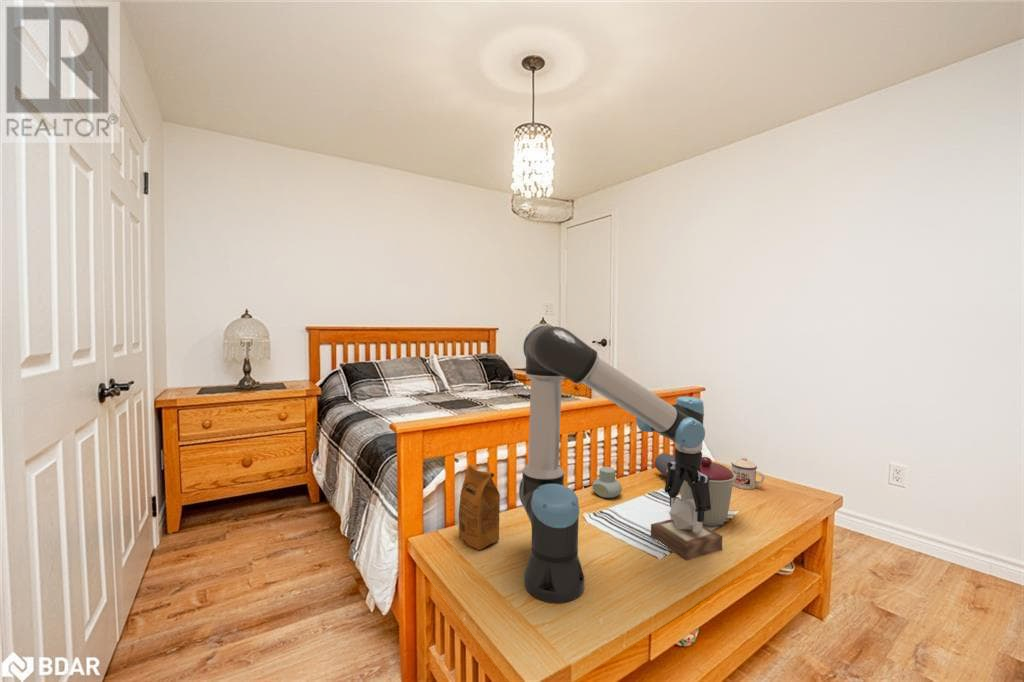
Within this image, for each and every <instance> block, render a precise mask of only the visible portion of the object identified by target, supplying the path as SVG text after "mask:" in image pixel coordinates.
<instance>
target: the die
mask: <svg viewBox="0 0 1024 682" xmlns="http://www.w3.org/2000/svg"><path fill="white" fill-rule="evenodd" d="M694 509H696V506H695V502H694V499H681V498H680V499H675V502H674V504H673V506H672V508H671V507H670V511H669V512H668V514H669V516H670V518H671V517H672V519H673V521H674V523H675V524H676V526H677V528H678V529H682V530H693V524H694V523H693V520H694Z"/></svg>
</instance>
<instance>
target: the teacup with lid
mask: <svg viewBox="0 0 1024 682" xmlns="http://www.w3.org/2000/svg"><path fill="white" fill-rule="evenodd" d="M757 468H758V466H757V464H756V463H754V462H752V461H750V460H749V459H748V458H747V456H742V457H741V458H739V459H734V460H732V461H731V471H733V472H734V473H735V474H736V478H735V479H734V480H733V486H732V487H735V488H738V489H740V490H741V489H742V490H747V491H748V490H750V491H751V490H755V488H756V484H757V485H759V484H762V483H764V481H765V474H764V473H763V472H761V471H758V470H757ZM757 474H758V475H760V476H761V480H760V481H756V480H757Z"/></svg>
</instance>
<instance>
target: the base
mask: <svg viewBox="0 0 1024 682" xmlns="http://www.w3.org/2000/svg"><path fill="white" fill-rule="evenodd" d="M651 536H652V537H653V538H655V539H656V540H658V541H660V542H661V543H662V544H664V545H665V546H667V547H668V548H669V549H668V548H667V547H666V548H667V549H668V550H670V549H671V550H672V551H671V550H670V551H671V552H673V553H675V554H676V555H677V556H679V557H680V558H682V559H684V560H685V561H689V560H693V559H696V558H700V557H702V556H705V555H709V554H712V553H714V552H715V553H716V552H718V551H721V550H723V535H721V534H719V533H717V532H716V531H714V530H712V529H710V528H708V527H706V525H702V531H700V532H696V533H695V532H693V530H682V529H678V528H677V526H676V524H675V523H674V521H673V520H672V519H666V520H663V521H659V522H655V523H651V524H650V537H651ZM652 537H651V538H652ZM653 538H652V539H653ZM655 539H654V540H655ZM656 540H655V541H656ZM658 541H657V542H658ZM661 543H660V544H661ZM662 544H661V545H662ZM664 545H663V546H664ZM665 546H664V547H665Z"/></svg>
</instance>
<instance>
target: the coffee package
mask: <svg viewBox="0 0 1024 682" xmlns="http://www.w3.org/2000/svg"><path fill="white" fill-rule="evenodd" d="M494 477H495V474H494V472H489V471H483V470H482V471H481V470H477V468H476V466H475V465H474V464H473V463H469V464H468V468H467V470H466V473H465V476H464V480H463V482H462V486H461V489H460V497H459V507H458V513H457V515H458V538H459V539H461V540H463V541H464V542H465V544H466V545H467V546H468V547H471V548H474V549H475V550H479V551H480V550H483V549H484V548H487V546H490V545H491V544H494V543H496V542H497V541H499V539H500V513H501V511H500V509H501V507H500V506H501V505H500V501H501V494H500V491H499V490H498V488H497V486H496V484H495V482H494V480H493V478H494Z"/></svg>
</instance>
